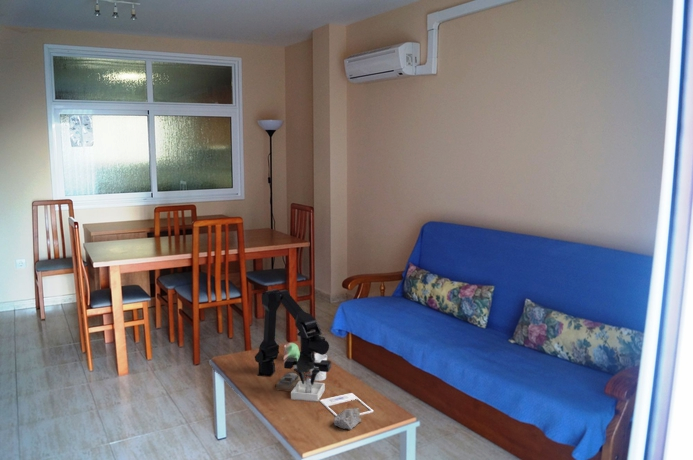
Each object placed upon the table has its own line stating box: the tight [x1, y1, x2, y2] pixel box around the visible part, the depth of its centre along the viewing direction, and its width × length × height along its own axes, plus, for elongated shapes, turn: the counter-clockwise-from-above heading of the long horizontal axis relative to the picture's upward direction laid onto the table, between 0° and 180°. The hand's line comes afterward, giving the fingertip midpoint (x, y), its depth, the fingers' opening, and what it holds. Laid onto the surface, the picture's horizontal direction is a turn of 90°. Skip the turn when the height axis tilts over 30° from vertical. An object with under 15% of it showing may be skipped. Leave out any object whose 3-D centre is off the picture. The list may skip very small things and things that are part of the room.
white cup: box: [309, 352, 328, 382], centre depth 247 cm, size 8×8×10 cm
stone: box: [333, 407, 362, 430], centre depth 206 cm, size 8×10×6 cm
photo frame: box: [319, 392, 374, 417], centre depth 221 cm, size 15×1×18 cm
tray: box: [290, 381, 326, 403], centre depth 231 cm, size 11×11×3 cm
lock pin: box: [304, 372, 312, 393], centre depth 231 cm, size 3×3×8 cm
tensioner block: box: [275, 372, 301, 392], centre depth 240 cm, size 10×8×4 cm
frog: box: [283, 342, 301, 363], centre depth 267 cm, size 12×10×9 cm
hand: (308, 384), depth 231 cm, fingers open, 4 cm apart
